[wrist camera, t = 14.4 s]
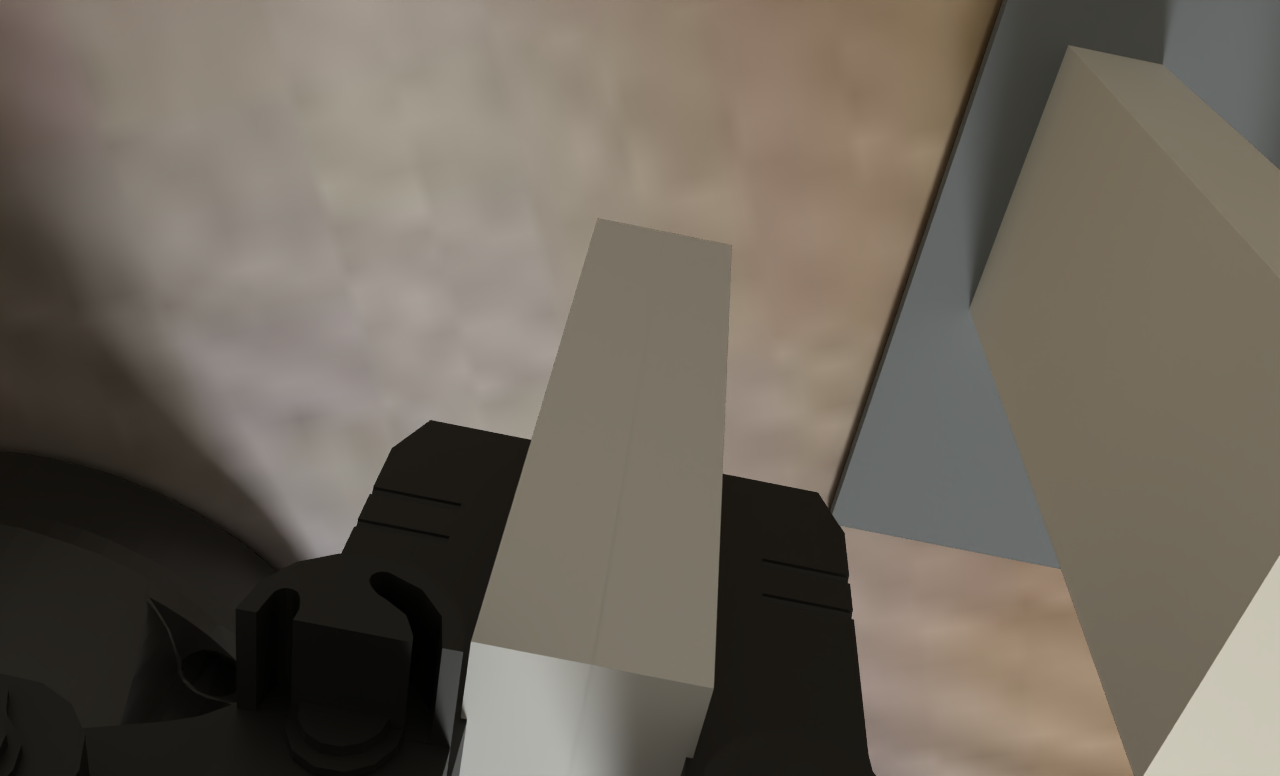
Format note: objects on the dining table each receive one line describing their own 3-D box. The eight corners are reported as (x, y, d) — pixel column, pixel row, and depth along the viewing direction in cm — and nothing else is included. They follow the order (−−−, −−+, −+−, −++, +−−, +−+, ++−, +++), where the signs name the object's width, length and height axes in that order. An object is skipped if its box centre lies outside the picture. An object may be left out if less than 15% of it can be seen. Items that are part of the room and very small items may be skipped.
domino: (968, 309, 21) (1137, 785, 12) (1068, 45, 19) (1381, 391, 9) (1051, 326, 22) (1283, 812, 12) (1162, 64, 19) (1567, 428, 10)
